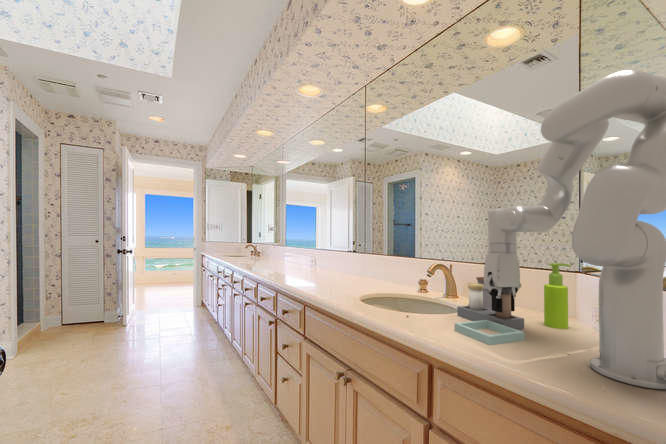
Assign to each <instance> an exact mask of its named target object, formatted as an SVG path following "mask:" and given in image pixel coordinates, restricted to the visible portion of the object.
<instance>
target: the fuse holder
mask: <svg viewBox="0 0 666 444" xmlns="http://www.w3.org/2000/svg"><path fill="white" fill-rule="evenodd" d="M456 310H457V312H456V314H457V316H458V317H459V318H460V317H461V318H463V319H465V320H469V321H470V322H472V321H482V320H488V321H492V322H495V323H498V324H501V325H504V326H507V327H510V328H513V329H516V330H519V331H522V330H525V318H523V317H519V316H516V315H513V314H511V319H501V318H497V317H495V311H493V310H492V309H488V308H485V307H483V310H482V311H474V310H471V309H469V306H468V305H459V306H457V308H456Z"/></svg>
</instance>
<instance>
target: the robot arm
mask: <svg viewBox="0 0 666 444" xmlns="http://www.w3.org/2000/svg"><path fill="white" fill-rule="evenodd" d="M611 118H615V119H620V120H624V121H631V122H635V123H640V124H642V125H644V128H643V129H642V130H641V131H640V132H639V134H638V135H637V137H636V138H635V140H634V141H633V143H632V145H631V149H630V152H629V155H628V158H627V160H626V162H620V163H614V164H611V165H608V166H606V167H603V168H602V169H601V170H599V171H598V172H597V173H595V175H594V176H593V177H592V178H591V180H590V181H589V182H588V184H587V185H586V188H585V191H584V193H583V197H582V200H581V204H580V207H579V209H578V213H577V217H576V219H575V220H576V221H575V223H574V226H573V229H572V235H571V246H572V251H573V253H574V254H575V255H576V257H577V258H578V259H580V260H581V261H582V262H584V263H586V264H588V265H591V266H594V267H595V266H596V267H602V268H601V270H600V274H599V278H598V334H599V335H598V336H599V337H598V338H599V339H598V340H599V341H598V343H599V344H598V345H599V346H598V347H599V348H598V349H599V356H597V357H596V356H595V357H593V358H591V359H590V361H589V363H590V367H591V368H592V369H593V370H594V372H597V373H598V374H601V375H603V376H604V377H607V378H610V379H612V380H616V381H619V382H622V383H625V384H628V385H632V386H635V387H642V388H647V389H655V390H666V358H665V347H664V346H665V343H664V340H665V339H664V338H665V337H664V274H665V267H666V237H665V235H664V234H663V232H662V231H661V230H660V229H659V228H657V227H656V226H655V225H653V224H650V223H648V222H645V221H642V220H638V218H639V216H640V215H654V214H655V215H657V214H659V213H662V212H665V211H666V77H663V76H660V75H655V74H651V73H648V72H646V71H642V70H637V69H622V70H619V71H614V72H613V73H610V74H608V75H605V76H604V77H602V78H600V79H599V80H597V81H595V82H594V83H592V84H590V85H589V86H586V87H585V88H584V89H582V90H580V91H578V92H576V93H575V94H573V95H572V96H570V97H568V98H566V99H565V100H563V101H562V102H560V103H559V104H557V105H556V106H555V107H554V108H552V109H551V110H550V111H548V113H547V114H546V115H545V117H544V119H543V120H542V122H541V124H540V125H541V126H540V132H541V133H540V134H541V136H542V137H543V138H544V139H545V140H546V141H549V142H550V145H549V147H548V149H547V150H546V152H545V153H544V155H543V157H542V158H541V159H540V161H539V162H538V164H537V171H538V173H539V174H540V175H541V176H542V177H544V178H545V181H546V185H547V186H546V187H547V188H546V192H545V194H544V196H543V197H542V199H541V201H540V202H539V203H538V205H524V204H521V205H519V204H516V205H512V206H508V207H500V208H498V207H497V208H492V209H490V210H489V211H488V214H487V230H488V231H487V233H488V234H487V237H488V239H487V240H488V243H487V244H488V249H487V250H488V253H486V255H485V259H484V269H483V277H484V286H483V288H484V289H485V290H486V291H488V293H489V294H490V297H492V310H493V311H496V312H502V299H501V298H500V297H501V290H502V288H512V294H511V312H515V311H516V310H515V309H516V308H515V301H516V300H515V299H516V297H517V293H518V291H519V289H521V288H522V284H521V272H520V271H521V269H520V260H519V257H518V253H517V252H518V248H517V247H518V245H517V243H518V240H517V238H518V237H517V233H539V234H540V233H545V232H548V231H550V230H552V229H553V228H554V227H555V226H556V225H557V224H558V223H559V221H560V220H561V219H562V218H563V216H564V215H565V213H566V212H567V210H568V209H569V207H570V205H571V202H572V196H573V190H574V189H573V188H574V185H573V184H574V180H575V178H576V176H577V175H578V174H579V172H580V170H581V169H582V168H583V166H584V164H585V163H586V162H587V160H588V159H589V157H590V156H591V154H592V153H593V152H594V150H595V149H596V148H597V146H598V145H599V144H600V142H601V141H602V139H603V137H604V136H605V135H606V133H607V130H608V129H609V125H610V122H609V119H611ZM495 289H497V292H496V291H495Z"/></svg>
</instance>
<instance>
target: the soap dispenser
mask: <svg viewBox="0 0 666 444" xmlns="http://www.w3.org/2000/svg"><path fill="white" fill-rule="evenodd" d="M548 266H551V270H552V271H551V272H550V273H549V274H548V283H546V284H544V285H543V306H544V309H543V311H544V312H543V315H544V316H543V319H544V323H543V325H544V326H545V327H548V328H552V329H557V330H558V329H559V330H567V329H569V289H568V286H565V285H564V282H563V274H561V273H560V267H561V266H562V267H563V266H564V267H570V268H571V267H572V265H571V264H567V263H561V262H560V263H559V262H550V263H549V262H548Z"/></svg>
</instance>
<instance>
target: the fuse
mask: <svg viewBox="0 0 666 444" xmlns="http://www.w3.org/2000/svg"><path fill="white" fill-rule="evenodd" d="M467 284H468V285H467V288H468V304H469V309H471V310H474V311H482V310H483V289H484V288H483V286H484V284H480V283H478V282H469V283H467Z"/></svg>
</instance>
